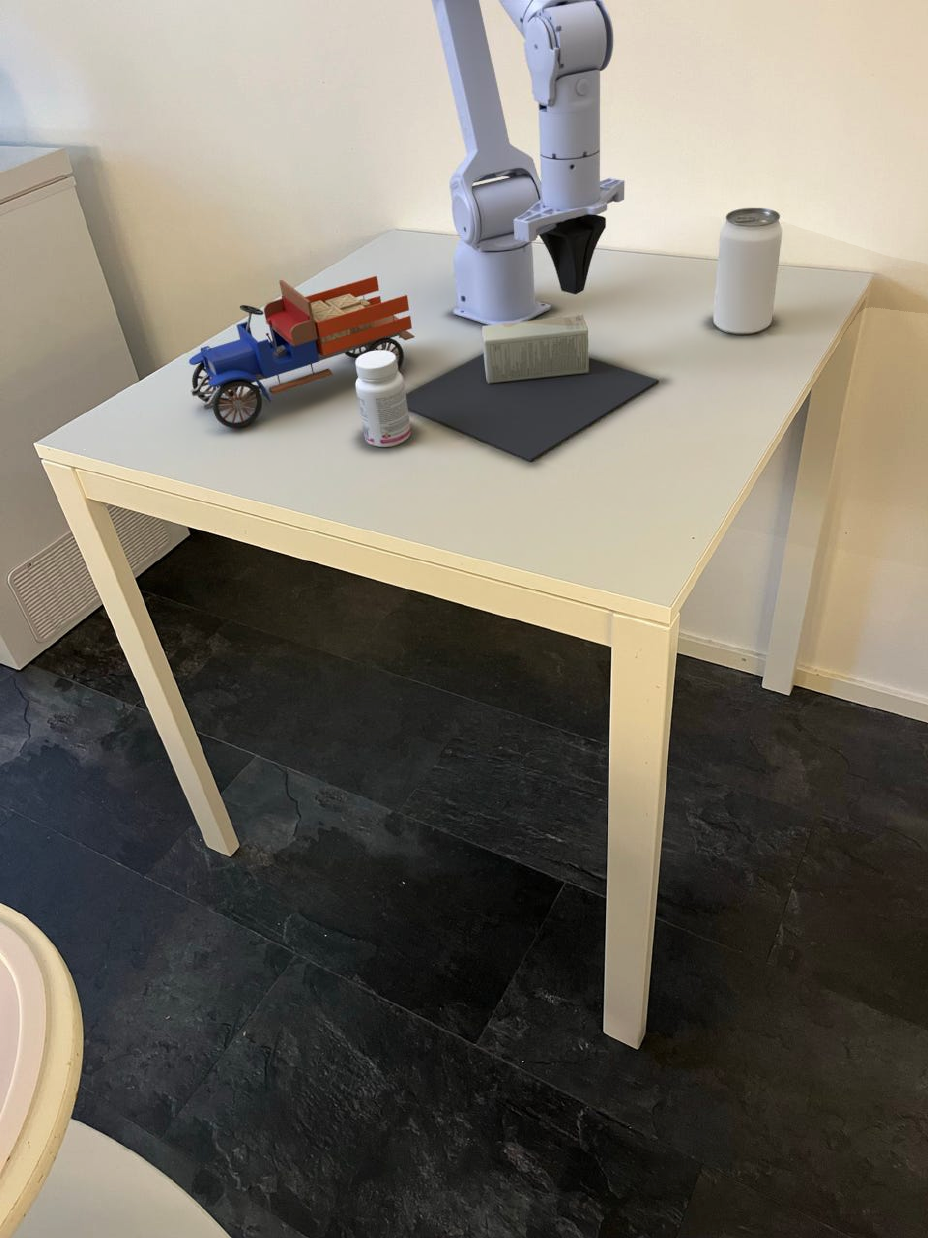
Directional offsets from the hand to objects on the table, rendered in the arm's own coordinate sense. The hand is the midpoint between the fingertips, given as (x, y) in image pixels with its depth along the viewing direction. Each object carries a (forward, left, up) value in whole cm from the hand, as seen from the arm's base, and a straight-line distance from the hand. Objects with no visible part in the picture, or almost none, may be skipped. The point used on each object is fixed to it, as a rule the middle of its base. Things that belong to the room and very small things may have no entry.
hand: (572, 290), depth 101 cm
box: (+2, 0, -6) cm, 6 cm away
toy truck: (-20, -21, -9) cm, 31 cm away
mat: (0, -8, -8) cm, 12 cm away
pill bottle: (-5, -23, -9) cm, 25 cm away
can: (+9, +19, -9) cm, 23 cm away
